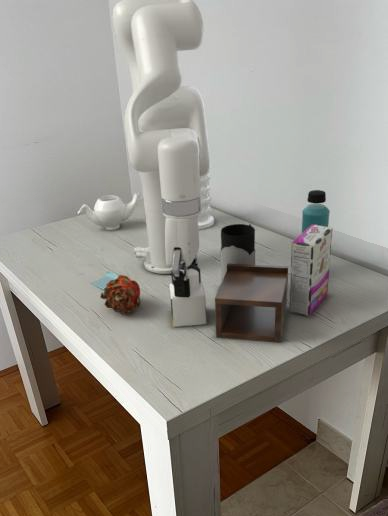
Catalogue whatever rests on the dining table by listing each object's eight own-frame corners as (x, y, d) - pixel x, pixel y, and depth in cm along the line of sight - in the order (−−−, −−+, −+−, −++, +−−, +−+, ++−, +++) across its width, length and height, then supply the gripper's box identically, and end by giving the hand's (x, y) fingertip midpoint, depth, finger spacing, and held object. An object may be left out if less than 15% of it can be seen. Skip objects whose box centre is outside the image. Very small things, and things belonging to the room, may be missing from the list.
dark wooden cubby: (216, 337, 112) (214, 292, 106) (228, 305, 123) (227, 263, 118) (280, 342, 109) (282, 296, 103) (286, 309, 120) (288, 266, 115)
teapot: (77, 228, 170) (72, 199, 165) (138, 217, 176) (135, 188, 171) (84, 238, 163) (79, 208, 158) (147, 226, 169) (144, 196, 164)
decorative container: (206, 231, 163) (204, 170, 153) (170, 228, 166) (166, 168, 157) (218, 218, 172) (217, 159, 162) (184, 215, 175) (181, 158, 166)
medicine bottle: (171, 311, 122) (167, 261, 115) (203, 308, 122) (201, 259, 116) (173, 327, 116) (169, 276, 109) (206, 324, 116) (204, 273, 110)
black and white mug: (214, 296, 127) (212, 235, 119) (233, 271, 138) (232, 213, 130) (250, 301, 124) (251, 238, 116) (267, 275, 135) (268, 216, 127)
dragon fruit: (127, 329, 119) (117, 312, 130) (155, 301, 119) (143, 286, 129) (99, 304, 115) (91, 288, 126) (127, 275, 115) (117, 262, 125)
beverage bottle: (325, 277, 132) (332, 196, 122) (297, 276, 134) (302, 195, 123) (325, 266, 138) (332, 187, 127) (298, 265, 139) (303, 187, 128)
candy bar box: (307, 291, 127) (311, 223, 118) (327, 295, 124) (334, 226, 116) (287, 312, 119) (290, 241, 110) (309, 317, 117) (314, 245, 108)
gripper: (174, 191, 114) (179, 270, 123) (149, 220, 99) (158, 306, 109) (209, 192, 112) (212, 271, 121) (190, 221, 98) (194, 309, 107)
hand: (186, 287), depth 115 cm, fingers closed on medicine bottle, 6 cm apart
